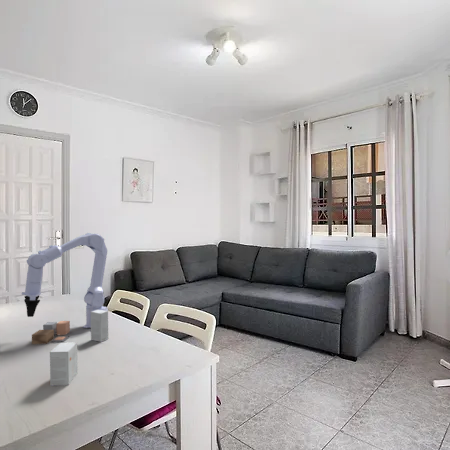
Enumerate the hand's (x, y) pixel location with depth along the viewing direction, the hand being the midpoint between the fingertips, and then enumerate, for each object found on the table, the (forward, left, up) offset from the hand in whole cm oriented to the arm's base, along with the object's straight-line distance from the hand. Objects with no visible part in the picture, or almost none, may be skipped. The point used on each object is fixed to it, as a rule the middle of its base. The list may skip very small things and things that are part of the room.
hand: (30, 314), depth 140 cm
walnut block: (-6, +2, -11) cm, 13 cm away
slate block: (-5, -6, -11) cm, 13 cm away
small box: (-30, +36, -11) cm, 48 cm away
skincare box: (-29, +1, -11) cm, 31 cm away
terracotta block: (-10, -8, -11) cm, 17 cm away
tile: (-13, +1, -11) cm, 17 cm away
